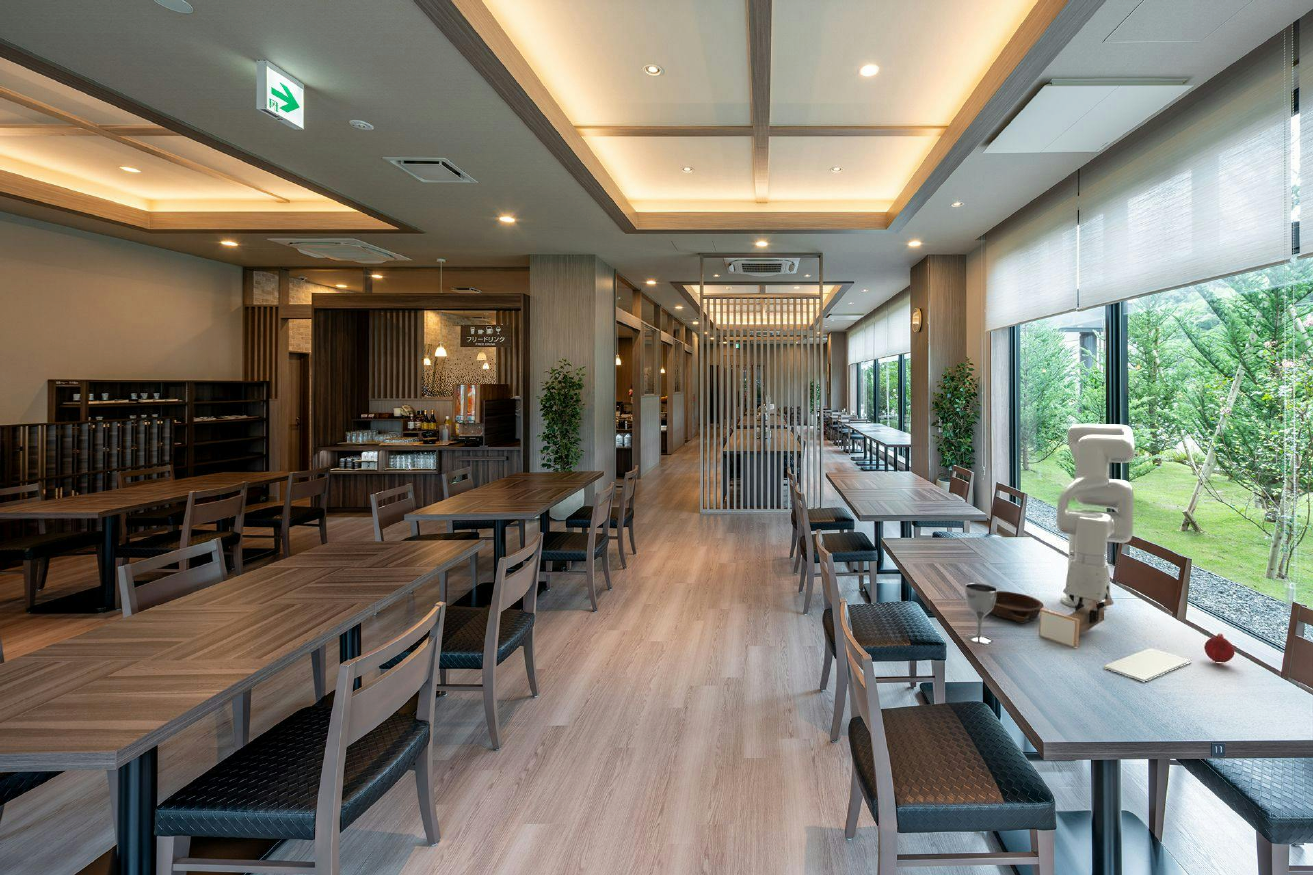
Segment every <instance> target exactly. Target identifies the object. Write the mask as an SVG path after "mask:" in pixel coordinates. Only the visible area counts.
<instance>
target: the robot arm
mask: <svg viewBox="0 0 1313 875" xmlns="http://www.w3.org/2000/svg"><path fill="white" fill-rule="evenodd" d="M1066 434H1067V443H1068V448H1069V450H1070V454H1071V456H1072V459H1073V461H1074V468H1075V469H1074V481H1073V482H1071V483H1070V484H1069V485H1067V487H1065V488H1064V490H1063V491H1062V492H1061V494H1060V495H1059V497H1058V500H1057V507H1056V508H1057V510H1056V511H1057V512H1056V526H1057V529H1058V531H1059V532H1060V533H1062V534H1064V535H1068V559H1067V560H1068V561H1067V563H1068V564H1067V574H1066V581H1065V588H1064V589H1063V592H1062V593H1064V594H1065V595H1062V596H1060V602H1061V603H1062V604H1064V605H1066V606H1068V607H1072V608H1074V612H1075V611H1076V610H1078V609H1080V608H1082V607H1084V606H1085V605H1087V604H1089V603H1090V602H1092V609H1091V610H1090V618H1089V623H1091V624H1093V623H1096V622H1097V621H1098V620H1099V610H1100V609H1101V608H1103V607H1104V610H1107V607H1108V606H1109V607H1110V606H1112V605H1114V600H1113V598H1112V596H1111V577H1110V571H1109V566H1108V565H1106V564H1107V562H1106V561H1107V549H1108V548H1107V547H1108V542H1109V543H1119V544H1121V543H1122V544H1125V543H1128V542H1130V541H1131V540H1132V538H1133V534H1134V506H1135V503H1134V501H1135V498H1134V488H1133V485H1132V484H1131V483H1130V482H1129V481H1127V480H1124V479H1115V478H1114V479H1113V478H1110V463H1122V464H1123V463H1124V464H1127V463H1130V462H1132V461H1133V458H1134V457H1135V451H1136V450H1135V449H1136V447H1135V446H1136V445H1135V438H1134V433H1133V430H1132V428H1131V426H1129V425H1125V424H1110V423H1109V424H1105V423H1103V424H1102V423H1079V424H1074V425H1071V426H1070V427H1069V428H1068V430H1067V433H1066ZM1072 499H1074V501H1075V503H1076V504H1078V505H1081V506H1085V507H1094V508H1102V509H1103V508H1106V509H1113V510H1114V511H1115V512H1114V511H1112V512H1111V511H1101V510H1091V509H1076V510H1075V509H1069V503H1070V501H1072Z"/></svg>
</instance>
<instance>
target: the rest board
mask: <svg viewBox="0 0 1313 875" xmlns="http://www.w3.org/2000/svg"><path fill="white" fill-rule="evenodd" d="M1190 661H1191V662H1192V660H1191V659H1188V658H1184V657H1182V656H1179V655H1175V654H1172V653H1169V652H1165V651H1163V650H1162V651H1161V650H1158V649H1156V648H1152V647H1149V648H1147V649H1144V650H1141V651H1139V652H1135V653H1133V654H1130V655H1128V656H1126V657H1122V658H1120V659H1117V660H1115V661H1111V662H1109V663H1107V664H1103V666H1102V667H1103V668H1106V669H1109V670H1111V671H1110V672H1112V671H1116V672H1118V673H1121V674H1123V675H1127V676H1130V677H1131V678H1136V679H1138V680H1142V681H1146V680H1149V679H1151V678H1154V677H1155V676H1157V675H1161V674H1163V673H1166V672H1167V671H1170V670H1172V669H1175V668H1177V667H1180V666H1181V665H1184V664H1186V663H1187V662H1190ZM1106 669H1105V670H1106ZM1109 670H1108V671H1109ZM1123 675H1122V676H1123ZM1131 678H1130V679H1131Z"/></svg>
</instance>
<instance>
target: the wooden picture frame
mask: <svg viewBox="0 0 1313 875" xmlns="http://www.w3.org/2000/svg"><path fill="white" fill-rule="evenodd" d="M1079 623H1080V619H1077V618H1073V617H1070V616H1068V615H1065V614H1063V613H1061V612H1056V611H1053V610H1049V609H1046V608H1044V607H1043V608H1042V609H1040V613H1039V626H1038V636H1039V637H1040V636H1042V637H1041V638H1044V639H1046V640H1049V639H1050V641H1052V642H1055V641H1056V643H1059V644H1061V643H1063V644H1062V645H1064V644H1065V646H1067V645H1069V646H1068V647H1070V646H1071V647H1070V648H1073V647H1078V648H1079V638H1080V635H1079Z"/></svg>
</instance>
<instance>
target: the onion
mask: <svg viewBox="0 0 1313 875" xmlns="http://www.w3.org/2000/svg"><path fill="white" fill-rule="evenodd" d="M1203 647H1204V652H1205V654H1206V655H1207V657H1208V658H1209V659H1210V660H1212V661H1213V662H1214V661H1215V662H1224V663H1227V662H1229V661H1230V660H1232V659H1233V658H1234V656H1235V647H1234V646H1233V644H1232V643H1231V642H1230V641H1229V640H1228V639H1226V638H1225V637H1224V634H1223V633H1221V632H1220V633H1217V635H1216V636H1213V637H1211V638H1209V639H1208V640H1206V642H1205V643H1204V646H1203ZM1215 662H1214V663H1215Z"/></svg>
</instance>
